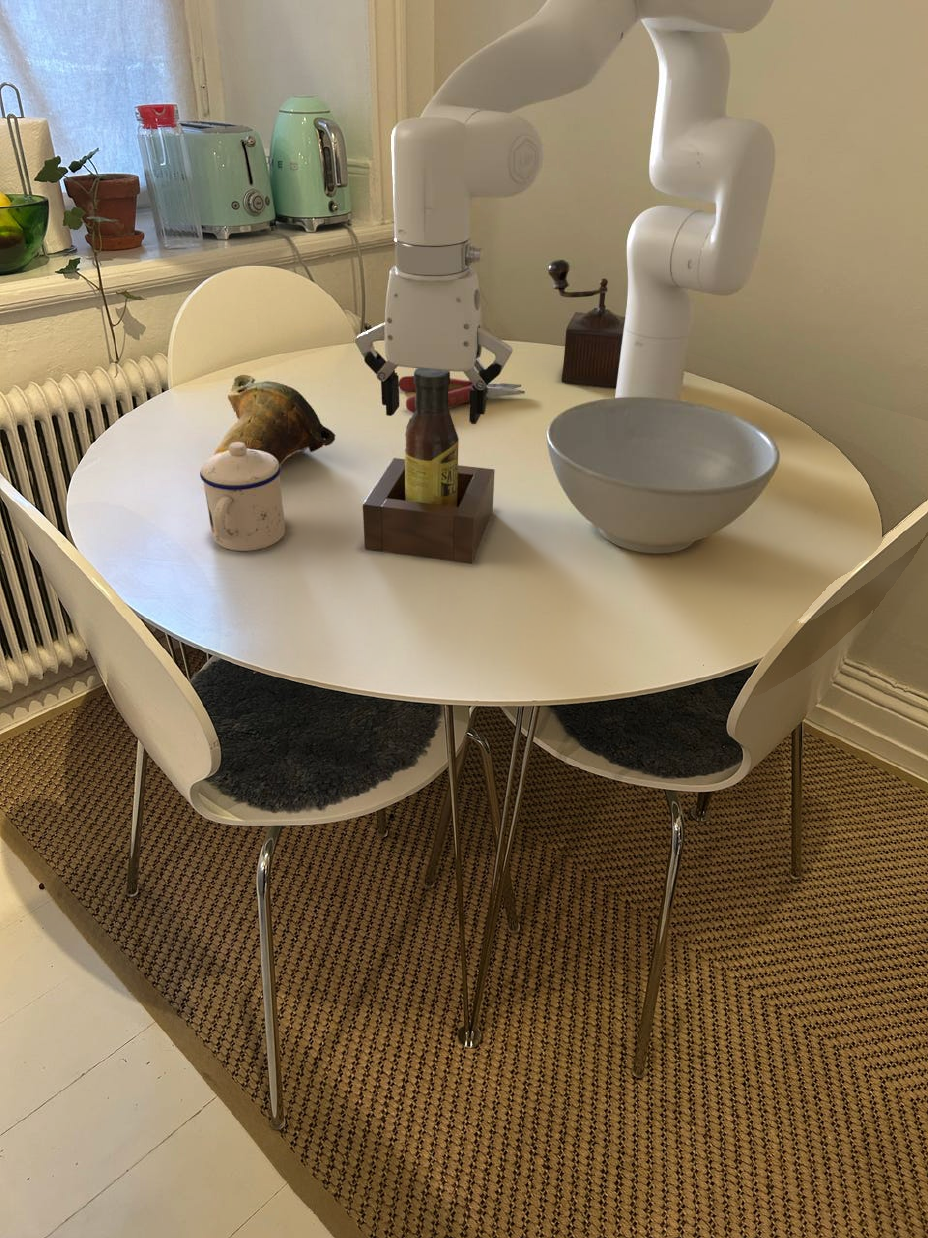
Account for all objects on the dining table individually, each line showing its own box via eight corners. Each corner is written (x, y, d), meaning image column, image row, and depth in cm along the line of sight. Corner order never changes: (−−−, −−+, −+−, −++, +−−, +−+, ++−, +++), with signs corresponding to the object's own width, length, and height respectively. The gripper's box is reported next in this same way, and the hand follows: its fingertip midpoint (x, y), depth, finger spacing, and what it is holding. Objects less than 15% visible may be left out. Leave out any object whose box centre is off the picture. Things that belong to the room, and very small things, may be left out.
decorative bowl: (772, 506, 115) (794, 419, 108) (736, 610, 95) (760, 511, 88) (577, 466, 124) (586, 383, 117) (507, 553, 103) (512, 459, 96)
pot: (160, 420, 111) (240, 339, 120) (169, 476, 120) (242, 397, 130) (277, 482, 109) (349, 395, 119) (277, 533, 119) (343, 449, 128)
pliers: (530, 408, 141) (531, 393, 139) (406, 414, 137) (406, 398, 136) (514, 383, 150) (515, 368, 148) (398, 389, 147) (397, 373, 145)
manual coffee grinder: (627, 368, 158) (641, 263, 147) (620, 389, 149) (634, 279, 138) (542, 359, 161) (550, 255, 150) (530, 379, 152) (538, 270, 141)
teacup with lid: (229, 512, 110) (216, 425, 103) (298, 520, 109) (289, 432, 102) (187, 561, 100) (169, 468, 94) (262, 570, 99) (249, 477, 92)
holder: (492, 512, 112) (494, 469, 108) (471, 563, 101) (473, 518, 98) (394, 500, 114) (393, 457, 110) (364, 549, 103) (362, 504, 100)
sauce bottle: (450, 546, 105) (453, 384, 93) (399, 539, 106) (396, 379, 94) (461, 520, 110) (465, 364, 98) (413, 514, 111) (411, 359, 99)
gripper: (521, 253, 91) (514, 409, 101) (362, 243, 94) (370, 396, 104) (509, 272, 85) (502, 436, 95) (339, 260, 88) (350, 421, 98)
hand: (433, 415), depth 99 cm, fingers open, 9 cm apart
